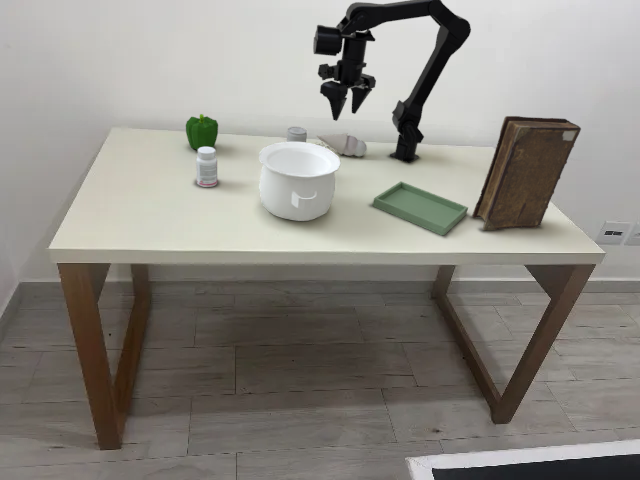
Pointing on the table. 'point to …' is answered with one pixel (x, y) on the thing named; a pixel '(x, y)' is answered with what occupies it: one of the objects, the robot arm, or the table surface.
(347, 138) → the ice cream cone
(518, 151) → the book
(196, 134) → the bell pepper
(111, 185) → the table surface
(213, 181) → the pill bottle
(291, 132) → the beverage can
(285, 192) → the pot
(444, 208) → the tray
